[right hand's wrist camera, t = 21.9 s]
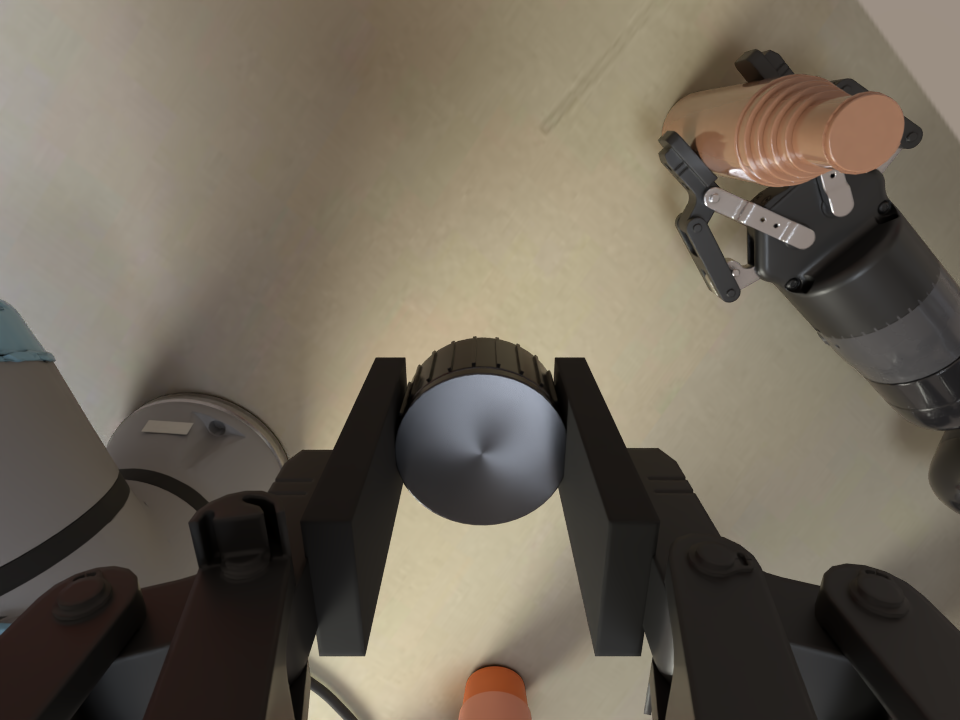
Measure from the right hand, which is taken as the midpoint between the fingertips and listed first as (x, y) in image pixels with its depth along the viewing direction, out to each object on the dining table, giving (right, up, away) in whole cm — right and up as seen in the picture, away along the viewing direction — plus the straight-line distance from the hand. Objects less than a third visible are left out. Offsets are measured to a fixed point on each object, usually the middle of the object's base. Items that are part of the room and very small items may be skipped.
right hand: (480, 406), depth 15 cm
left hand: (+13, +16, +17) cm, 27 cm away
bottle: (+15, +17, +24) cm, 32 cm away
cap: (0, -1, -2) cm, 2 cm away
